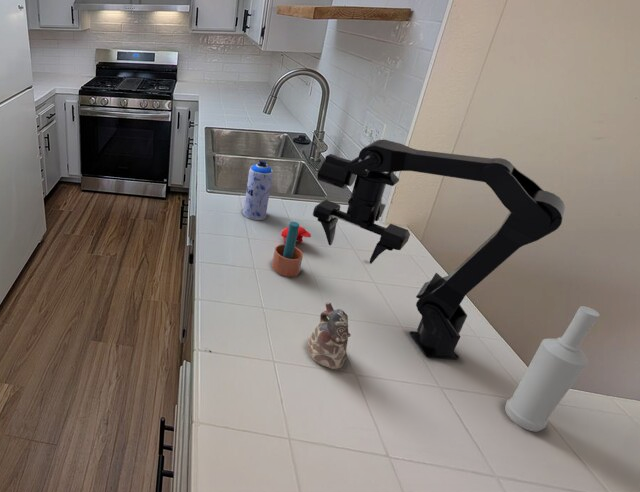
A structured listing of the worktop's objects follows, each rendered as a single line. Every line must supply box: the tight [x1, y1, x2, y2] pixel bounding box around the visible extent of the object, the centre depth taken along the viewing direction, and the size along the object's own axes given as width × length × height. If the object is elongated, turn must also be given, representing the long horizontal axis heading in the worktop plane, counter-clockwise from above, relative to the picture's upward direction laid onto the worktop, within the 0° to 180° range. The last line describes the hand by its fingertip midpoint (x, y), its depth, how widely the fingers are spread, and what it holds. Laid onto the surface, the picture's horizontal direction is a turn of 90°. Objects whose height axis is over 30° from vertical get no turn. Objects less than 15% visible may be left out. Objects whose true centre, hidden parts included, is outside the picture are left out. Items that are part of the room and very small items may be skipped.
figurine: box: [307, 301, 352, 370], centre depth 78 cm, size 7×7×12 cm
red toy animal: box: [280, 225, 312, 248], centre depth 116 cm, size 8×6×6 cm
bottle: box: [504, 305, 601, 433], centre depth 64 cm, size 5×5×25 cm
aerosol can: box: [242, 159, 274, 221], centre depth 129 cm, size 8×8×20 cm
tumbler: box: [271, 243, 304, 278], centre depth 105 cm, size 7×7×6 cm
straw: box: [283, 221, 300, 259], centre depth 103 cm, size 2×2×14 cm
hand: (350, 253), depth 91 cm, fingers open, 9 cm apart
